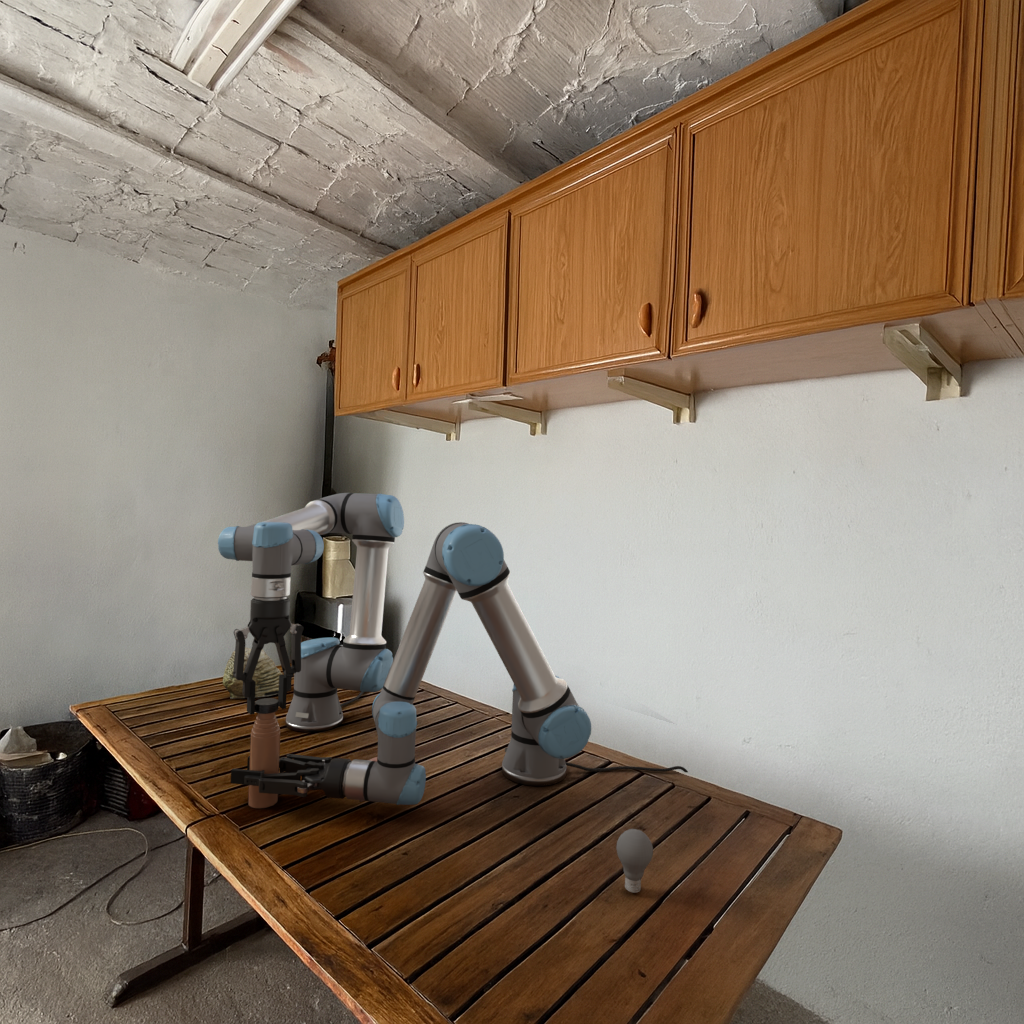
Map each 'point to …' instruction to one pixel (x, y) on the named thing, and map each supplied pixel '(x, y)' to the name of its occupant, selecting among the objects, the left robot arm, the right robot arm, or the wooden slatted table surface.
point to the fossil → (263, 676)
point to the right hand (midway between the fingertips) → (240, 769)
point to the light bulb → (634, 857)
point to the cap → (266, 705)
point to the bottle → (264, 756)
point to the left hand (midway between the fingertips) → (266, 709)
